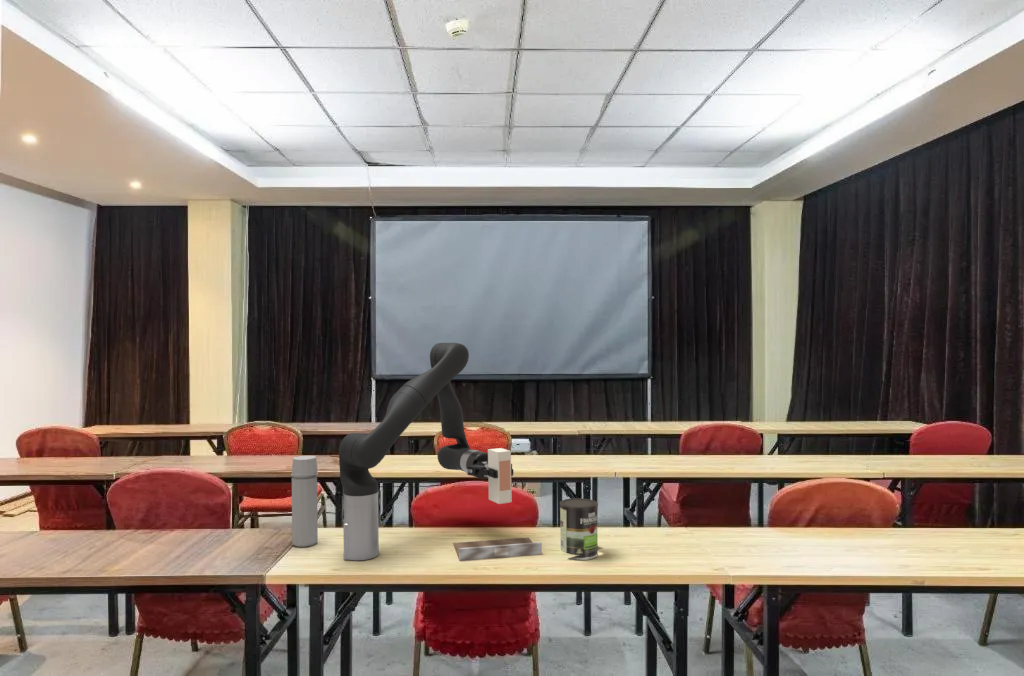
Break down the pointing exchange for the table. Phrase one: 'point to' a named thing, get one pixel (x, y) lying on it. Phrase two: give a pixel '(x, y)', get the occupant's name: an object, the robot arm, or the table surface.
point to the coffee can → (579, 528)
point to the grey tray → (497, 548)
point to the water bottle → (304, 501)
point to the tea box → (500, 475)
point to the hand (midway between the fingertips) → (504, 473)
